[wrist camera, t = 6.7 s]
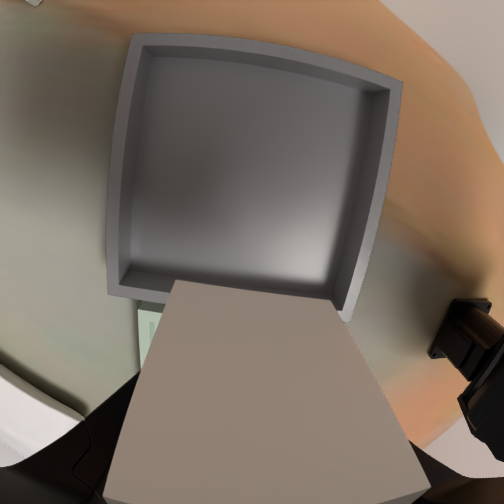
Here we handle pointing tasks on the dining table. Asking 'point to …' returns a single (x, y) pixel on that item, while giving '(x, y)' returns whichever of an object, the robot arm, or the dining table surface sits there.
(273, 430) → the block
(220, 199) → the gray square tray
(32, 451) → the salad plate
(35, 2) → the supplement box
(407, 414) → the dining table surface
